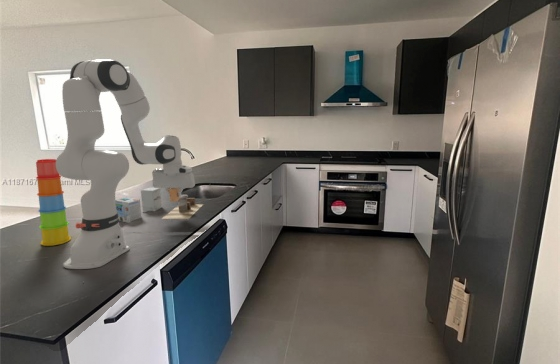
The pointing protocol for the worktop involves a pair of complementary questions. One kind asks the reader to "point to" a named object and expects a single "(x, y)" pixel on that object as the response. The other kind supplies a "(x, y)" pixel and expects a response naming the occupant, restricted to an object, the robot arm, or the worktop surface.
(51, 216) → the stacking cups
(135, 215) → the light bulb box
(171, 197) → the tab
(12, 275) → the worktop surface
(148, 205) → the supplement box
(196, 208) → the winding board
